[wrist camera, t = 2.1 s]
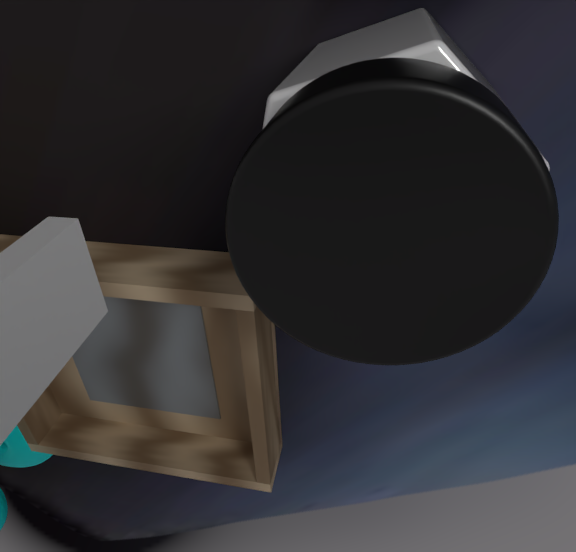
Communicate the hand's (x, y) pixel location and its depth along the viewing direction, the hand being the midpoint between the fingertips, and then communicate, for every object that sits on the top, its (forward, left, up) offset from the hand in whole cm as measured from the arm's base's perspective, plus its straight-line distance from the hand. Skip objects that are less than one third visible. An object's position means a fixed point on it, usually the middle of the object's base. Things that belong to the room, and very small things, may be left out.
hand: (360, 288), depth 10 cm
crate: (+16, +17, -14) cm, 27 cm away
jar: (0, 0, -14) cm, 14 cm away
